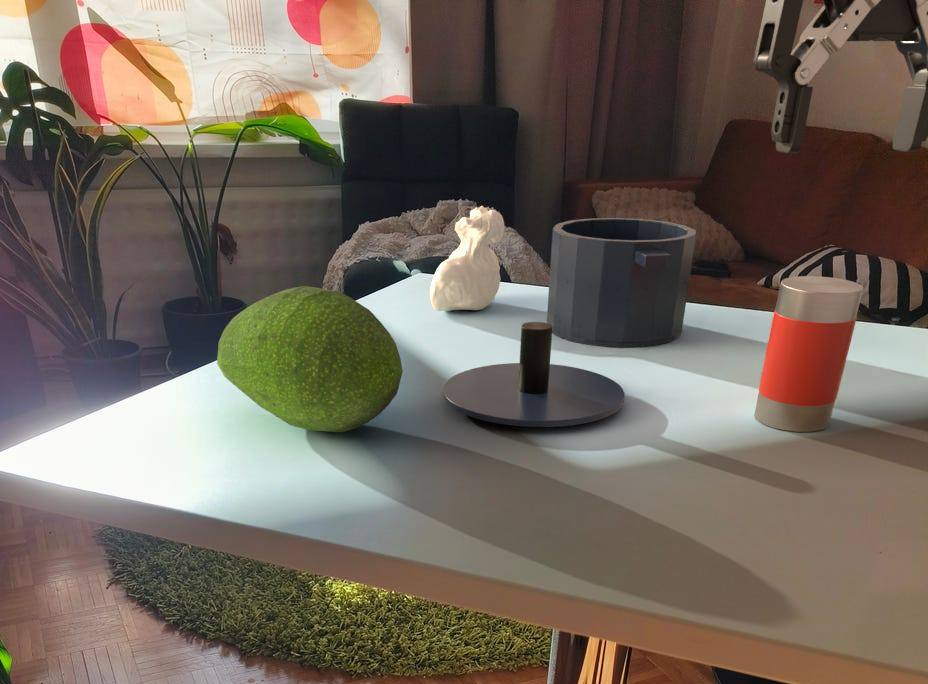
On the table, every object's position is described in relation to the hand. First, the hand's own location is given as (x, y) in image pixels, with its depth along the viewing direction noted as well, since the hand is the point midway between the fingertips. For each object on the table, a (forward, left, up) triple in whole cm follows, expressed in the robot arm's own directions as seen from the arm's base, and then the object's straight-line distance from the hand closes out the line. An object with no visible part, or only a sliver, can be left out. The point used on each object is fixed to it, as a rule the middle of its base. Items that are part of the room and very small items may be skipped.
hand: (846, 151), depth 59 cm
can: (0, 0, -18) cm, 18 cm away
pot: (+5, -28, -18) cm, 34 cm away
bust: (+18, -39, -19) cm, 47 cm away
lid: (+19, -7, -18) cm, 27 cm away
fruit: (+37, -5, -19) cm, 42 cm away
